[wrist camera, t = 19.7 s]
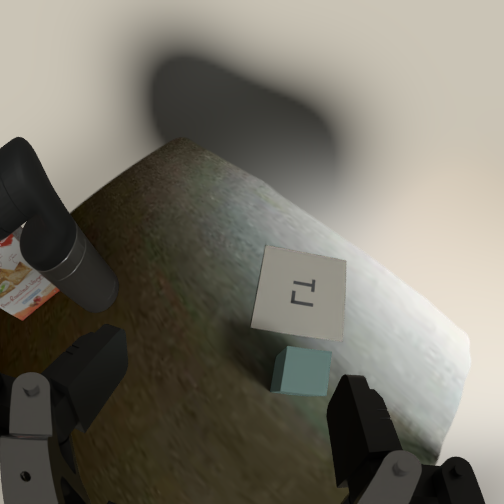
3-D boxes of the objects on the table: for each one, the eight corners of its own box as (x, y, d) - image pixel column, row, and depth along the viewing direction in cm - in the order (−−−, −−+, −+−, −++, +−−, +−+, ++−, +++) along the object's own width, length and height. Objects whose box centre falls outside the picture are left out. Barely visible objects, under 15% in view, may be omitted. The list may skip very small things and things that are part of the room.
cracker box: (23, 323, 40) (-45, 280, 21) (17, 300, 42) (-45, 253, 23) (68, 287, 45) (6, 228, 27) (59, 265, 47) (4, 204, 29)
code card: (250, 327, 44) (250, 327, 44) (265, 245, 52) (265, 245, 52) (342, 341, 44) (342, 341, 44) (346, 260, 52) (346, 260, 52)
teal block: (269, 391, 39) (280, 391, 31) (276, 356, 42) (287, 345, 34) (306, 396, 39) (326, 395, 30) (311, 361, 42) (331, 351, 33)
